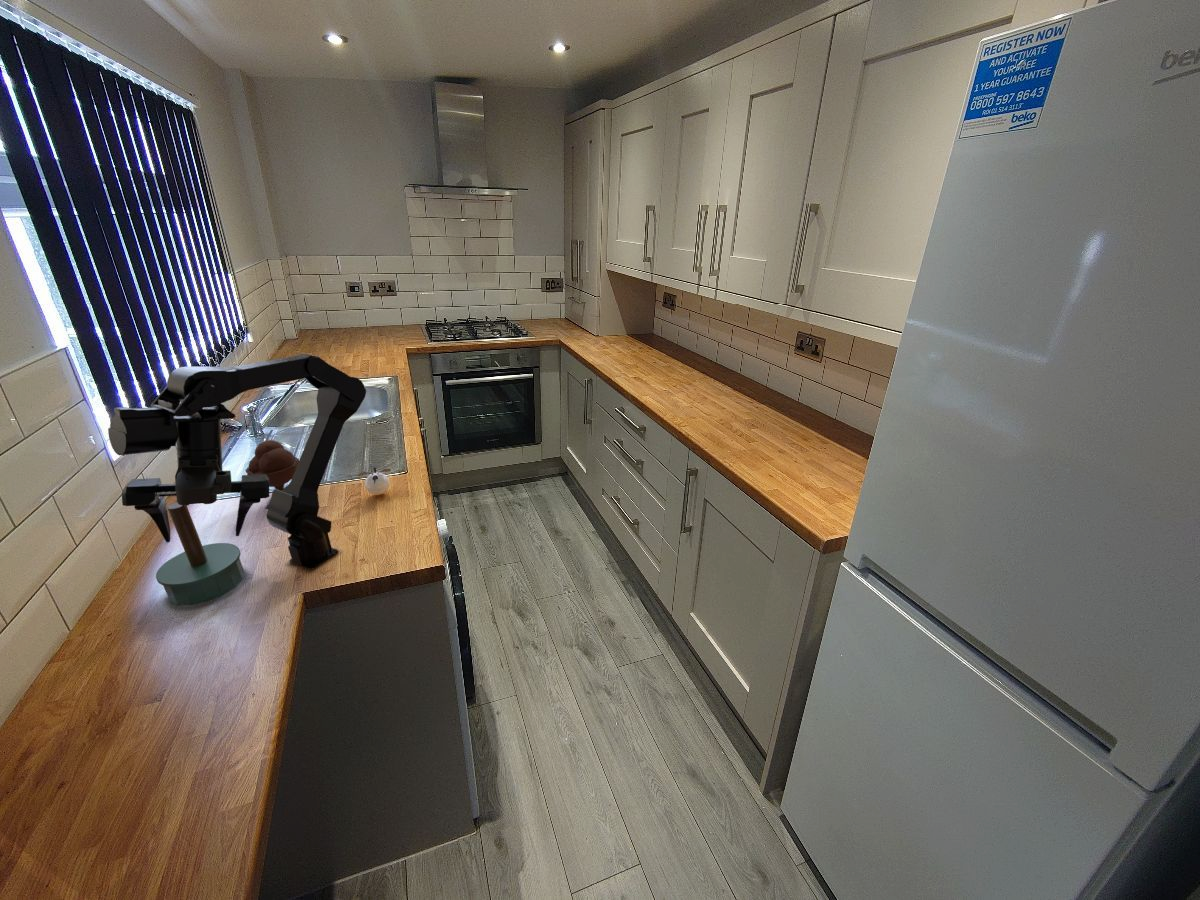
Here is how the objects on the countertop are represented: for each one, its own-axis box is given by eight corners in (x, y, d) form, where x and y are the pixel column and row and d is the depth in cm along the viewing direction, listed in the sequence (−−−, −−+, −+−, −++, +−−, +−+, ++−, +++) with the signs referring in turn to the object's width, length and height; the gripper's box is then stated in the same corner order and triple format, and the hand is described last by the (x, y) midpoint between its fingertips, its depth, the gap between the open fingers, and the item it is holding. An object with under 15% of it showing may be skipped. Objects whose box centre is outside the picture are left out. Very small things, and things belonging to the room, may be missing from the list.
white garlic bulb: (362, 506, 124) (356, 480, 121) (364, 491, 131) (358, 466, 128) (395, 500, 126) (389, 475, 124) (395, 486, 133) (390, 462, 130)
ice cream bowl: (246, 506, 125) (227, 449, 119) (287, 486, 135) (271, 432, 129) (278, 514, 122) (260, 455, 116) (317, 492, 131) (303, 437, 125)
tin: (219, 562, 105) (211, 541, 103) (258, 575, 101) (251, 554, 99) (155, 598, 95) (145, 576, 93) (196, 614, 91) (187, 591, 89)
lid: (250, 543, 103) (230, 483, 98) (228, 582, 92) (204, 517, 87) (176, 554, 100) (151, 493, 95) (144, 596, 89) (113, 530, 84)
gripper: (108, 460, 72) (117, 565, 75) (268, 457, 82) (270, 550, 85) (126, 443, 82) (133, 537, 85) (268, 442, 92) (270, 526, 95)
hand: (203, 538), depth 87 cm, fingers open, 9 cm apart
